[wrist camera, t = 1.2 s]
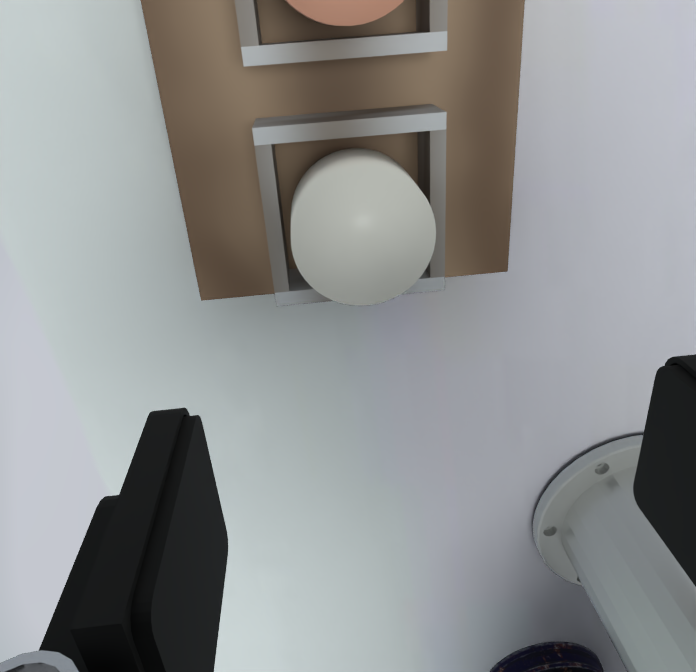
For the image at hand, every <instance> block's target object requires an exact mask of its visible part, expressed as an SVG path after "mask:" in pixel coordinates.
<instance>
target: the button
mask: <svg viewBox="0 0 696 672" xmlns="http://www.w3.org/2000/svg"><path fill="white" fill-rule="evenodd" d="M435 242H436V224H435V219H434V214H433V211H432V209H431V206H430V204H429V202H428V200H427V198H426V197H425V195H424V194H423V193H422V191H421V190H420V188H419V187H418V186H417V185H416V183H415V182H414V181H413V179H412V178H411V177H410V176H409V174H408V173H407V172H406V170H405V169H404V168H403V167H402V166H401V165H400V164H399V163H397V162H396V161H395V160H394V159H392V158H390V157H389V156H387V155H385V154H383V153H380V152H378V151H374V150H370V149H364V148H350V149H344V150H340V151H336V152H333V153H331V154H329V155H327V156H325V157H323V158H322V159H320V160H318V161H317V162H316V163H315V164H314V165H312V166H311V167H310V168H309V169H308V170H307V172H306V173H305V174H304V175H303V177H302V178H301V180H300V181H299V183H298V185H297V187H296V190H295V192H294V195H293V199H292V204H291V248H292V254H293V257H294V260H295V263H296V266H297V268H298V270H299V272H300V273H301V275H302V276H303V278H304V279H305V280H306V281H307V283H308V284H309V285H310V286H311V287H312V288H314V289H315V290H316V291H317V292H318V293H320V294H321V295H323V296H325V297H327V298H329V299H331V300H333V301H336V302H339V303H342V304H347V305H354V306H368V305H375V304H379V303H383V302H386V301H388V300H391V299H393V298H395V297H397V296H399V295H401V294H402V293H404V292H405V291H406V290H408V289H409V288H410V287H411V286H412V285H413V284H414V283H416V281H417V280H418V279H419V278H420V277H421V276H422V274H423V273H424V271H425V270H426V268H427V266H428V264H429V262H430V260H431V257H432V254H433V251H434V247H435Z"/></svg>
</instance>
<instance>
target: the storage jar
mask: <svg viewBox="0 0 696 672" xmlns="http://www.w3.org/2000/svg"><path fill="white" fill-rule="evenodd" d="M490 672H604V671H603V668H602V665H601V663H600V661H599V659H598V658H597V656H596V655H595V654H594V653H593V652H592V651H591V650H589V649H587V648H586V647H584V646H581V645H578V644H574V643H568V642H548V643H541V644H537V645H533V646H529V647H526V648H523V649H521V650H519V651H516V652H514V653H512V654H510V655H509V656H507V657H505V658H504V659H503V660H501V661H500V662H499V663H497V664H496V665H495V666H494V667H493V668H492V669H491V671H490Z"/></svg>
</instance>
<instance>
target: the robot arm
mask: <svg viewBox="0 0 696 672" xmlns="http://www.w3.org/2000/svg"><path fill="white" fill-rule="evenodd" d="M533 537H534V541H535V543H536V546H537V549H538V551H539V553H540V555H541V557H542V559H543V560H544V562H545V564H546V565H547V566H548V567H549V568H550V569H551V570H552V571H553V572H554V573H555V574H556V575H558V576H560V577H561V578H563V579H564V580H566V581H569V582H571V583H574V584H577V585H581V586H583V587H584V589H585V591H586V593H587V595H588V597H589V599H590V600H591V602H592V604H593V606H594V608H595V610H596V612H597V614H598V616H599V618H600V620H601V622H602V624H603V626H604V627H605V629H606V631H607V633H608V635H609V637H610V639H611V641H612V643H613V645H614V647H615V649H616V651H617V653H618V654H619V656H620V658H621V660H622V662H623V664H624V666H625V668H626V670H627V672H696V355H687V356H677V357H672V358H670V359H668V361H667V362H666V363H665V366H662V367H660V368H659V369H658V370H657V373H656V376H655V381H654V386H653V391H652V396H651V400H650V405H649V410H648V415H647V420H646V425H645V430H644V435H638V436H631V437H627V438H623V439H620V440H616V441H612V442H610V443H608V444H605V445H603V446H600V447H598V448H595V449H593V450H592V451H590V452H588V453H587V454H585V455H583V456H581V457H580V458H578V459H577V460H575V461H574V462H573V463H572V464H570V465H569V466H568V467H566V468H565V469H564V470H563V471H562V472H561V473H560V474H559V475H558V476H557V477H556V478H555V479H554V480H553V481H552V482H551V483H550V485H549V486H548V488H547V489H546V491H545V492H544V494H543V495H542V497H541V498H540V501H539V503H538V506H537V508H536V510H535V514H534V520H533ZM227 556H228V537H227V530H226V526H225V522H224V517H223V513H222V508H221V504H220V500H219V495H218V491H217V486H216V482H215V477H214V473H213V469H212V464H211V460H210V455H209V451H208V447H207V442H206V438H205V433H204V429H203V425H202V421H201V418H200V416H199V415H195V416H190V415H189V412H188V411H187V409H186V408H179V409H169V410H160V411H152V412H150V414H149V416H148V418H147V421H146V423H145V426H144V429H143V432H142V434H141V437H140V440H139V443H138V445H137V448H136V451H135V453H134V456H133V459H132V462H131V464H130V467H129V470H128V473H127V475H126V478H125V481H124V483H123V486H122V489H121V492H120V494H119V495H115V496H106V497H104V498H103V499H102V500H101V501H100V502H99V504H98V506H97V508H96V510H95V513H94V515H93V518H92V520H91V523H90V525H89V528H88V530H87V533H86V536H85V538H84V540H83V543H82V545H81V547H80V550H79V552H78V555H77V557H76V560H75V562H74V565H73V567H72V570H71V572H70V575H69V577H68V580H67V582H66V585H65V587H64V590H63V592H62V594H61V597H60V600H59V602H58V604H57V607H56V609H55V612H54V614H53V617H52V619H51V622H50V624H49V627H48V629H47V632H46V634H45V637H44V639H43V642H42V644H41V647H40V649H39V651H35V652H30V653H24V654H21V655H18V656H16V657H13V658H11V659H9V660H6V661H4V662H2V663H0V672H214V664H215V655H216V647H217V639H218V631H219V622H220V614H221V606H222V598H223V589H224V581H225V573H226V565H227Z"/></svg>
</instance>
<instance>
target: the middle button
mask: <svg viewBox="0 0 696 672" xmlns="http://www.w3.org/2000/svg"><path fill="white" fill-rule="evenodd" d="M285 1H286V2H287V3H288V4H289V5H290V6H291V7H292V8H293V9H295V10H296V11H297V12H298V13H300V14H302V15H303V16H305V17H306V18H309V19H311V20H313V21H315V22H319V23H322V24H326V25H333V26H354V25H361V24H365V23H368V22H372V21H374V20H377V19H379V18H381V17H383V16H385V15H386V14H388V13H389V12H391V11H393V10H394V9H395V8H396V7H398V6H399V5H400V4H401V3H402V2H403V1H404V0H285Z"/></svg>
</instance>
